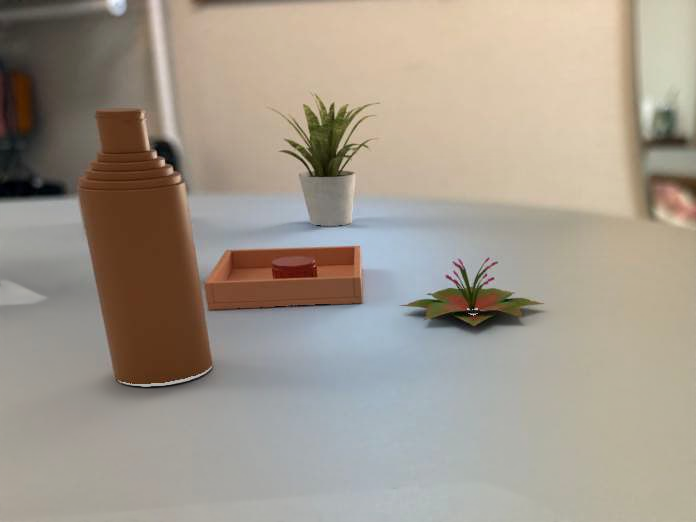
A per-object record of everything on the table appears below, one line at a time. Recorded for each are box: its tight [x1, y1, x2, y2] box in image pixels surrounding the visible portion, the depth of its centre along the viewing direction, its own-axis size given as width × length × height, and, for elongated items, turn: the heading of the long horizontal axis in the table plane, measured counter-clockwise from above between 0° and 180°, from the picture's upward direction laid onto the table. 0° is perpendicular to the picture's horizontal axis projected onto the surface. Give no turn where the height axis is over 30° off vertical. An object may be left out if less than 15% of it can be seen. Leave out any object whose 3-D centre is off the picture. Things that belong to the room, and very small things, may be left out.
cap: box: [272, 256, 317, 279], centre depth 81 cm, size 4×4×2 cm
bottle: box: [76, 107, 213, 384], centre depth 57 cm, size 6×6×18 cm
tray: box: [203, 245, 363, 311], centre depth 81 cm, size 13×13×2 cm
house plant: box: [266, 91, 380, 227], centre depth 108 cm, size 14×14×16 cm
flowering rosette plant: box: [399, 257, 545, 327], centre depth 73 cm, size 12×12×5 cm
